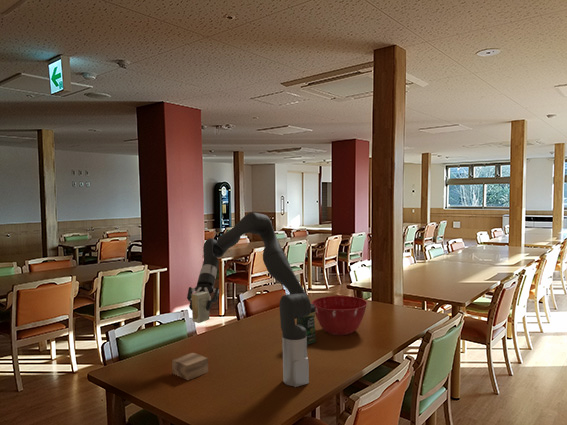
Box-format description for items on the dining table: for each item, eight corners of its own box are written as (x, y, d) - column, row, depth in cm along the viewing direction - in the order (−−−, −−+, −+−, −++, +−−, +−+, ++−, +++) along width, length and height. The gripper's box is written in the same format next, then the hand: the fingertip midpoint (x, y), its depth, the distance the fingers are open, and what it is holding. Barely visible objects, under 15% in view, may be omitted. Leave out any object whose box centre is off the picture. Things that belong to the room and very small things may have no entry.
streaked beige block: (208, 372, 170) (207, 358, 170) (187, 381, 163) (186, 365, 162) (193, 366, 177) (192, 352, 177) (172, 374, 169) (172, 359, 169)
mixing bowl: (338, 344, 199) (338, 312, 198) (301, 330, 222) (300, 301, 221) (379, 332, 216) (378, 302, 215) (340, 320, 239) (339, 293, 238)
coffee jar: (304, 347, 196) (303, 307, 196) (293, 343, 202) (292, 304, 202) (319, 342, 203) (318, 303, 202) (307, 338, 209) (306, 301, 208)
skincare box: (203, 318, 187) (202, 290, 186) (209, 319, 184) (209, 292, 183) (191, 321, 182) (190, 293, 181) (198, 323, 179) (197, 295, 178)
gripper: (190, 272, 190) (180, 304, 179) (220, 272, 188) (213, 305, 177) (194, 281, 196) (185, 313, 185) (224, 281, 194) (217, 314, 183)
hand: (199, 309), depth 181 cm, fingers closed on skincare box, 6 cm apart
